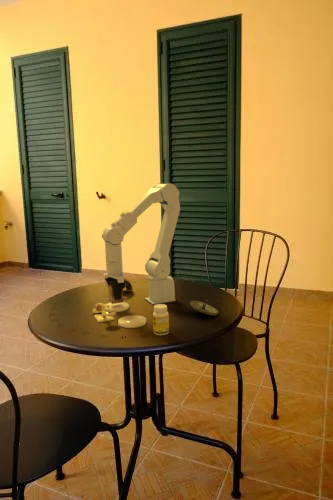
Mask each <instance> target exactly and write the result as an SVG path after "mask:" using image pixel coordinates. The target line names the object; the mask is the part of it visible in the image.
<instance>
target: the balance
mask: <svg viewBox="0 0 333 500" xmlns="http://www.w3.org/2000/svg"><path fill="white" fill-rule="evenodd" d="M106 304H107V303H101V302H98V303H96V304H94V308H93V309H92V313H93V314H94V318H95V320H96V321H97V322H98V323H104V322H110V321H114V320H115V319H114V317H113V316H114V315H117V312H116V311H114V310H109V307H110V305H106ZM105 307H107V308H108V310H106V311H105Z"/></svg>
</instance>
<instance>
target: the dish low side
mask: <svg viewBox="0 0 333 500" xmlns="http://www.w3.org/2000/svg"><path fill="white" fill-rule="evenodd" d="M105 304H106V305H110V307H109V310H114V311H116V313H122V312H125V311H127V310H129V309H130V304H129V303H128V302H125V301H123V302H122V303H116V304H112V303H111V302H108V303H105ZM106 310H108V308H107V307H105V311H106Z"/></svg>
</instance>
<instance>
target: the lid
mask: <svg viewBox="0 0 333 500" xmlns="http://www.w3.org/2000/svg"><path fill="white" fill-rule="evenodd" d="M205 302H206V303H205ZM208 302H209V299H205V300H204V301H199V300H191V301H189V305H190V306H191V307H192V308H193V309H194V310H196V311H198V312H199V313H202V314H204V315H207V316H208V315H209V316H217V315H219V310H218V309H217V308H215V307H213V306H212V305H210V304H208Z"/></svg>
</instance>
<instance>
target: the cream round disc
mask: <svg viewBox="0 0 333 500" xmlns="http://www.w3.org/2000/svg"><path fill="white" fill-rule="evenodd" d="M117 321H118V322H117V324H118V326H120V327H121V328H126V329H135V328H141V327H143V326H145V325H146V324H147V318H146V317H145V316H143V315H138V314H137V315H135V314H133V315H126V316H122V317H120V318H119V319H117Z"/></svg>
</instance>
